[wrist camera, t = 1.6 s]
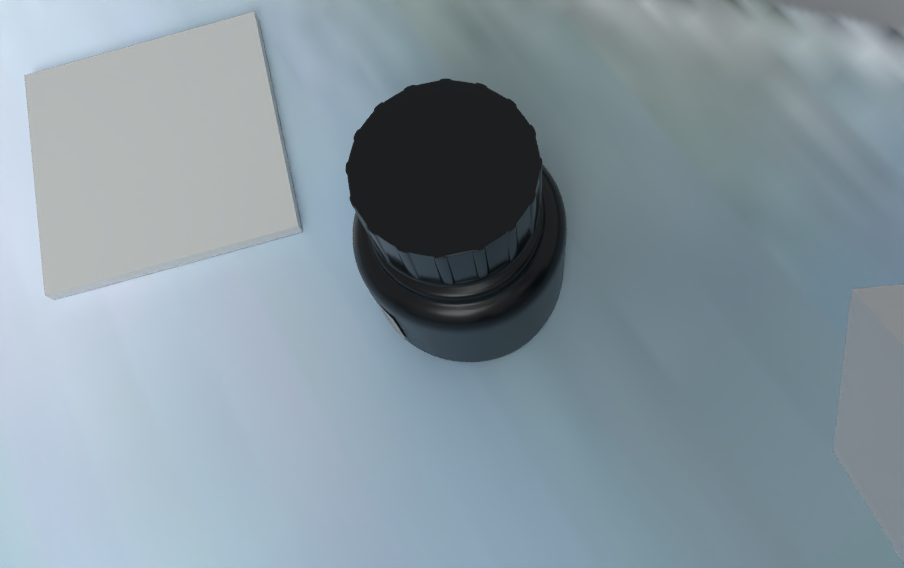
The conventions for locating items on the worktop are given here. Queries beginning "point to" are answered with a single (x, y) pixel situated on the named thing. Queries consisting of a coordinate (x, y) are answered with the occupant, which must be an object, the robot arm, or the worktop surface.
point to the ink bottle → (456, 220)
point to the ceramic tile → (157, 156)
